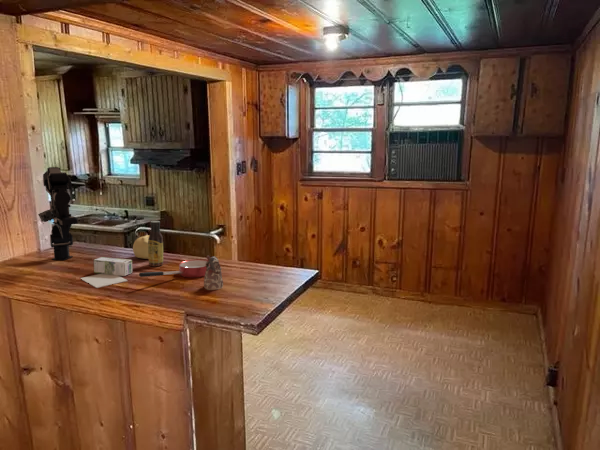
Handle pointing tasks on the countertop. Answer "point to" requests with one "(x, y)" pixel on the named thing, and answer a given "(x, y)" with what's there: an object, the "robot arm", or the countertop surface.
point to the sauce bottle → (155, 245)
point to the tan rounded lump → (141, 247)
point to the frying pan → (184, 269)
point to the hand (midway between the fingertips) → (64, 238)
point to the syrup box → (113, 266)
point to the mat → (103, 280)
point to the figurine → (213, 274)
